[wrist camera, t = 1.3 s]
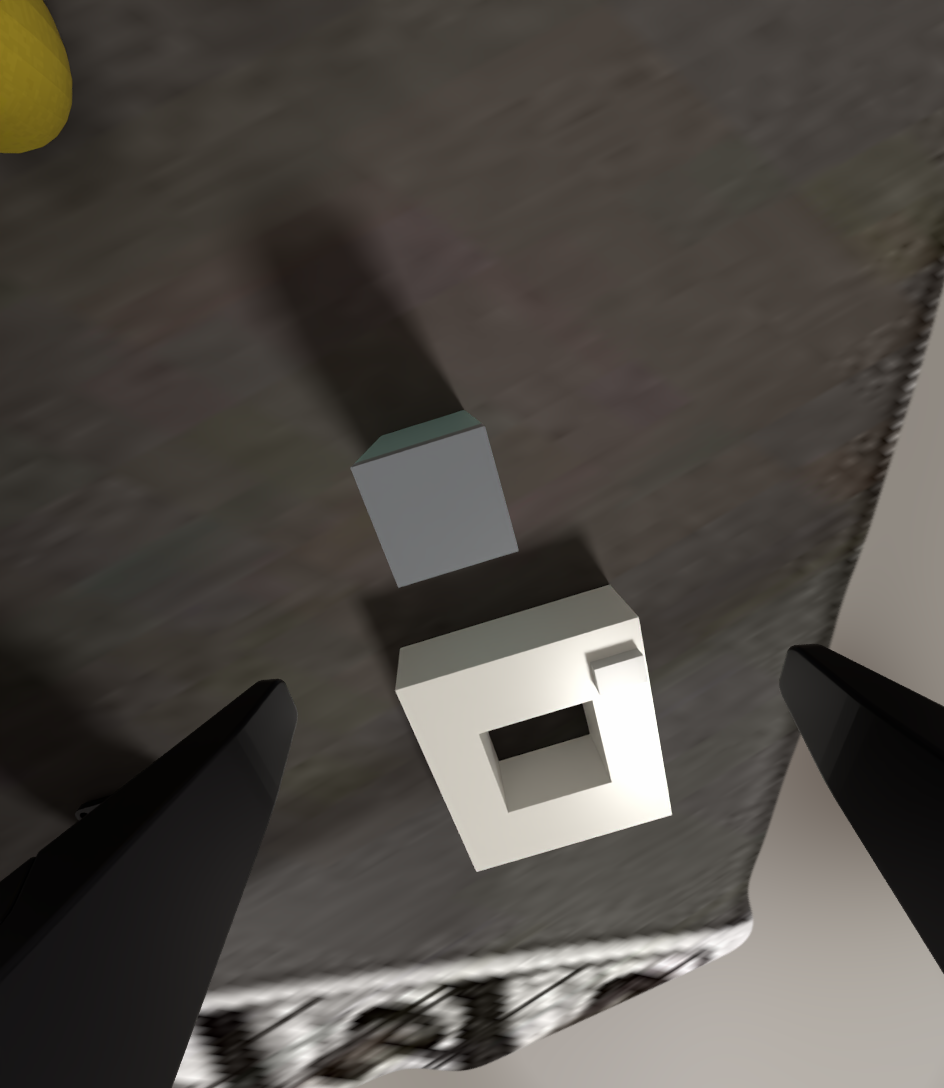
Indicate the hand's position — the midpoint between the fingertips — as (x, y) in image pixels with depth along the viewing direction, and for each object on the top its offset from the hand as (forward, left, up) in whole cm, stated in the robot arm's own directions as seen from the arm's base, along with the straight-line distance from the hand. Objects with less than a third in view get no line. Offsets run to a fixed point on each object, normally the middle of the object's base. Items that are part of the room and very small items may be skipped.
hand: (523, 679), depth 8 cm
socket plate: (0, -14, -14) cm, 20 cm away
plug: (-1, +2, -14) cm, 14 cm away
